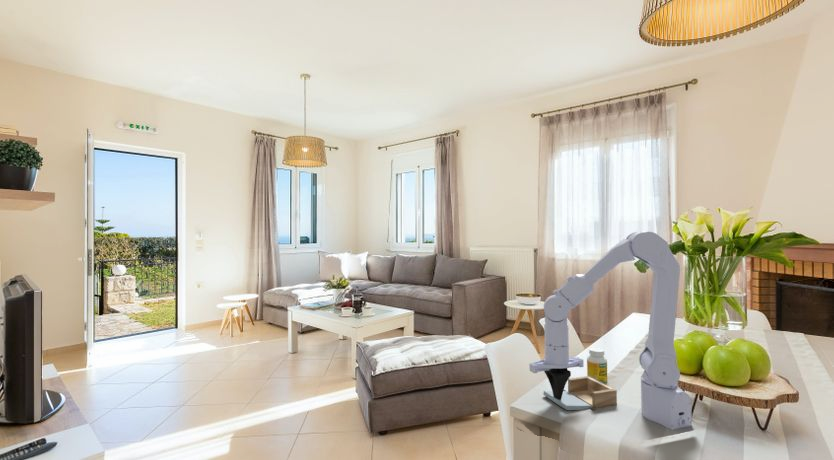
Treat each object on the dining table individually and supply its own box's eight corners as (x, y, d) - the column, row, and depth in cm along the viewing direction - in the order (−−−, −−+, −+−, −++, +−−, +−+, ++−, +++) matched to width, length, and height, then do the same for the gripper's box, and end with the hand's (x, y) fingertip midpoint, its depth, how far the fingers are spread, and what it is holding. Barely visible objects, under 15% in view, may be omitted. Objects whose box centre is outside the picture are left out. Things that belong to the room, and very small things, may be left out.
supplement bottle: (594, 377, 116) (593, 345, 116) (611, 383, 111) (610, 350, 112) (583, 381, 113) (582, 349, 113) (600, 387, 108) (600, 353, 109)
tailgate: (590, 405, 94) (566, 405, 92) (590, 410, 94) (566, 410, 92) (566, 391, 103) (543, 390, 101) (565, 395, 103) (543, 395, 101)
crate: (619, 409, 95) (619, 391, 95) (592, 414, 93) (592, 395, 93) (585, 391, 106) (585, 374, 106) (561, 395, 104) (561, 378, 104)
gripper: (570, 337, 103) (570, 388, 103) (522, 342, 99) (523, 395, 98) (589, 344, 96) (589, 399, 96) (538, 350, 92) (539, 407, 92)
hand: (557, 397), depth 97 cm, fingers closed
